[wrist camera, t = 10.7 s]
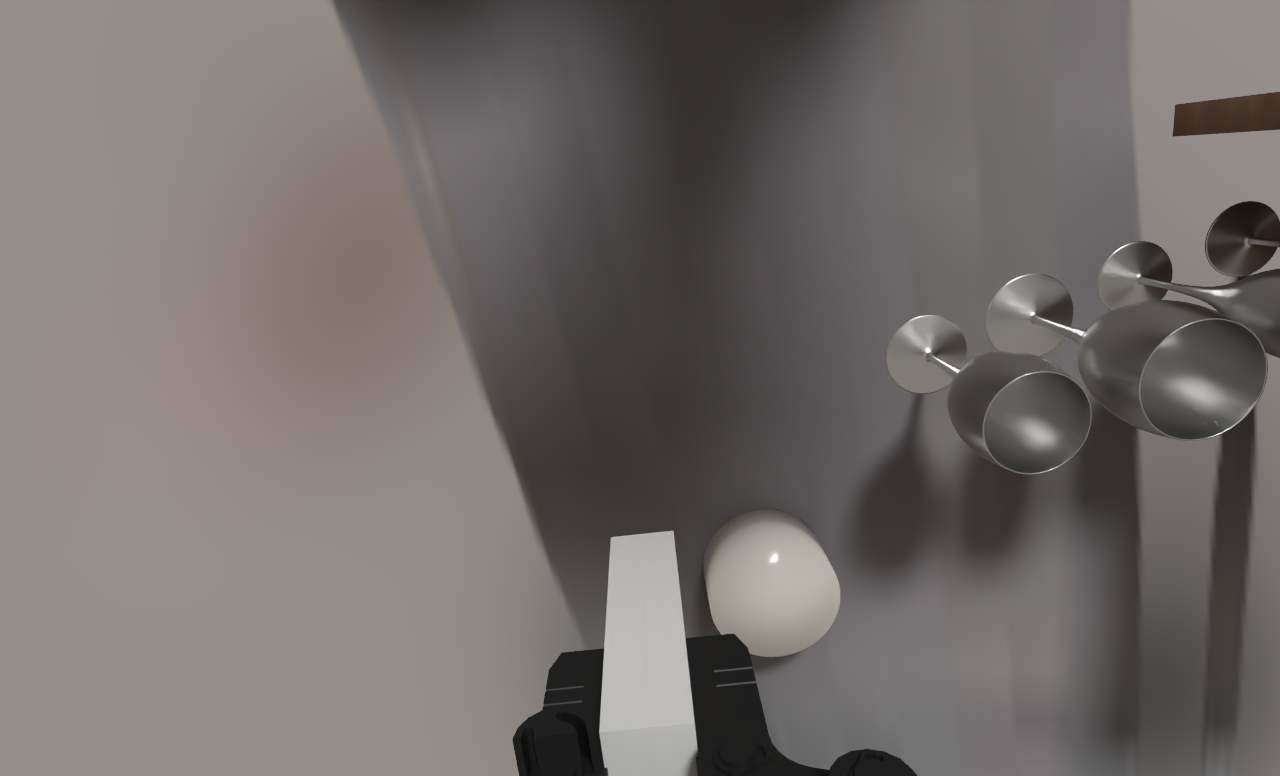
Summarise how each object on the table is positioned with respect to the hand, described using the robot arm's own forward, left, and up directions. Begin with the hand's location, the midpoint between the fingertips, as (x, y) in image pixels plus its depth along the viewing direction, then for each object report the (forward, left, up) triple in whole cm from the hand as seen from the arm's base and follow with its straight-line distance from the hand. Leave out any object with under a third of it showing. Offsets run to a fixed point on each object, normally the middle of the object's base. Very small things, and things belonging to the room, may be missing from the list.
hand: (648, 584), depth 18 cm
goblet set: (-1, +27, -24) cm, 36 cm away
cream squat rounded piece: (+13, +6, -24) cm, 28 cm away
